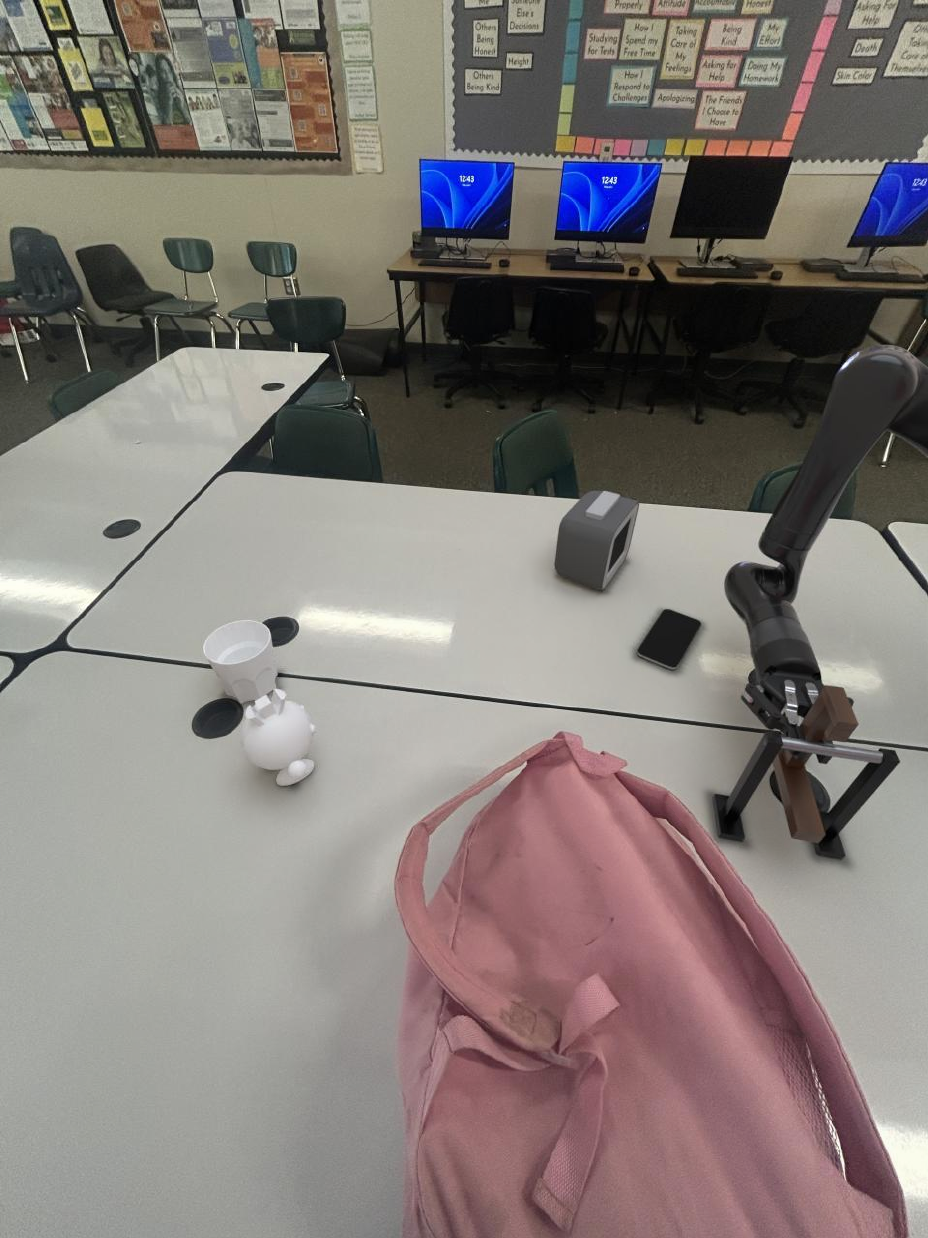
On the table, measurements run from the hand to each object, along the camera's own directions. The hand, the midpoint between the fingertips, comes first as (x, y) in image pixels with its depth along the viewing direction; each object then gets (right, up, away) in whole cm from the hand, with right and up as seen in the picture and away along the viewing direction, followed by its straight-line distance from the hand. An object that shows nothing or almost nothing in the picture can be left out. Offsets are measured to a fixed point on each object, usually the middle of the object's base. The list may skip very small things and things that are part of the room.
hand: (814, 757), depth 66 cm
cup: (-77, +5, +28) cm, 82 cm away
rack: (0, -11, +8) cm, 14 cm away
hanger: (0, -5, +5) cm, 7 cm away
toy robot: (-67, -5, +15) cm, 69 cm away
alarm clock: (-15, +27, +53) cm, 61 cm away
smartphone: (-4, +13, +36) cm, 38 cm away
